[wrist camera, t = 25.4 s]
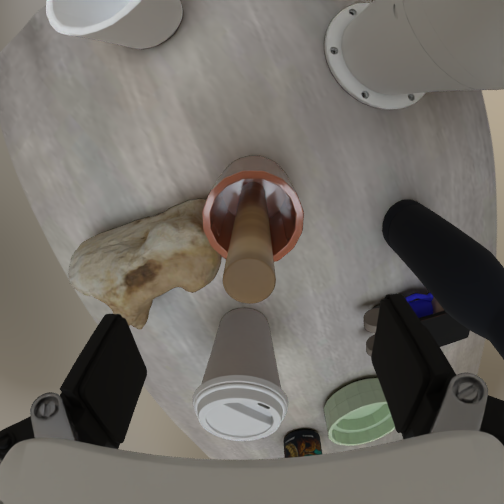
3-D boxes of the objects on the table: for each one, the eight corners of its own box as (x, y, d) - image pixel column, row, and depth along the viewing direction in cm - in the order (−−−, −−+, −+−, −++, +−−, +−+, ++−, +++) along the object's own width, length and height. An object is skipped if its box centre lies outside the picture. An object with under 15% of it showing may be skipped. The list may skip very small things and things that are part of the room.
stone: (173, 151, 30) (140, 165, 21) (244, 230, 34) (239, 274, 25) (85, 243, 35) (43, 281, 26) (147, 306, 38) (122, 357, 29)
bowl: (352, 368, 43) (361, 396, 37) (408, 381, 45) (420, 405, 39) (309, 414, 48) (313, 442, 42) (365, 423, 50) (372, 447, 44)
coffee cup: (292, 338, 40) (304, 430, 27) (232, 361, 42) (224, 450, 29) (259, 285, 37) (260, 379, 23) (194, 315, 39) (169, 406, 25)
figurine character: (360, 331, 42) (451, 309, 38) (368, 369, 35) (470, 342, 31) (357, 294, 39) (455, 272, 35) (367, 331, 32) (479, 303, 29)
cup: (207, 36, 25) (178, -9, 13) (123, 75, 27) (56, 60, 15) (179, -29, 21) (144, -85, 10) (101, 10, 23) (38, -22, 11)
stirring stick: (246, 177, 31) (234, 250, 14) (269, 187, 31) (284, 269, 15) (236, 200, 32) (215, 293, 15) (259, 209, 32) (262, 310, 16)
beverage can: (302, 423, 49) (309, 478, 38) (326, 433, 51) (334, 484, 40) (276, 438, 51) (278, 490, 40) (299, 447, 53) (304, 495, 42)
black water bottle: (425, 194, 32) (627, 357, 4) (428, 242, 34) (584, 423, 7) (378, 205, 32) (574, 418, 5) (384, 255, 35) (524, 474, 8)
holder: (234, 144, 30) (224, 154, 21) (301, 173, 31) (320, 196, 22) (207, 208, 33) (189, 245, 24) (271, 234, 34) (277, 279, 25)
